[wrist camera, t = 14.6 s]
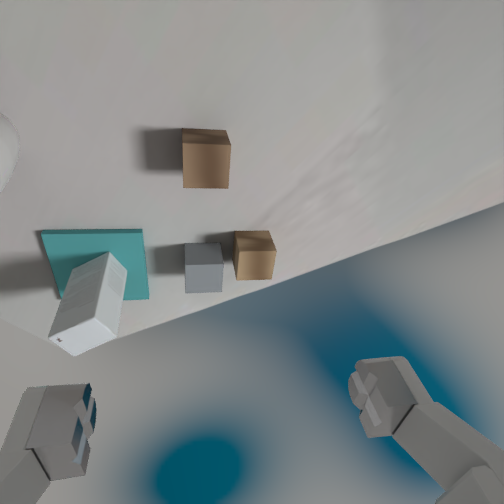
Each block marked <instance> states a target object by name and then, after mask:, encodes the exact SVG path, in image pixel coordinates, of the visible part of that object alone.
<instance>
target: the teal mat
mask: <svg viewBox="0 0 504 504" xmlns="http://www.w3.org/2000/svg"><path fill="white" fill-rule="evenodd" d="M41 237H42V240H43V243H44V246H45V249H46V252H47V255H48V258H49V262H50V265H51V268H52V271H53V274H54V277H55V280H56V284H57V287H58V290H59V293H60V296H61V299H62V297H63V294H64V291H65V288H66V286H67V283H68V280H69V277H70V275H71V272H72V269H74V268H76V267H78V266H80V265H82V264H84V263H86V262H88V261H91V260H93V259H95V258H97V257H99V256H101V255H103V254H105V253H107V252H110V253H111V254H112V255H113V256H114V257H115V258H116V259H117V260H118V261H119V262H120V263H121V264H122V265H123V267H124V268H125V269H126V270H127V277H126V284H125V290H124V296H123V300H141V299H149V288H148V278H147V269H146V260H145V250H144V241H143V232H142V229H94V230H43V231H42V233H41Z"/></svg>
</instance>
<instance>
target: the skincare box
mask: <svg viewBox="0 0 504 504" xmlns="http://www.w3.org/2000/svg"><path fill="white" fill-rule="evenodd" d="M126 277H127V270H126V269H125V268H124V267H123V265H122V264H121V263H120V262H119V261H118V260H117V259H116V258H115V257H114V256H113V255H112V254H111V253H110V252H107V253H105V254H103V255H101V256H99V257H97V258H95V259H93V260H91V261H88V262H86V263H84V264H82V265H80V266H78V267H76V268H74V269H72V272H71V275H70V277H69V280H68V283H67V286H66V288H65V291H64V294H63V297H62V299H61V302H60V305H59V308H58V311H57V313H56V316H55V319H54V322H53V324H52V327H51V330H50V333H49V335H48V339H49V340H51V341H52V342H54V343H55V344H56V345H58V346H59V347H61V348H62V349H64V350H65V351H66V352H68V353H69V354H71V355H72V356H77V355H79V354H81V353H83V352H85V351H88V350H90V349H92V348H94V347H96V346H98V345H101V344H103V343H105V342H107V341H110V340H112V339H114V338H116V337H117V334H118V328H119V321H120V315H121V309H122V303H123V296H124V290H125V284H126Z"/></svg>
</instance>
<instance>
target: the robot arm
mask: <svg viewBox="0 0 504 504" xmlns="http://www.w3.org/2000/svg"><path fill="white" fill-rule="evenodd" d="M355 368H356V370H357V371H356V372H354V373H353V374H351V376H350V379H349V381H348V382H349V393H350V397H351V399H352V402H353V404H354V405H355V406H357V407H358V408H359V409H360V415H359V418H360V421H361V423H362V425H363V427H364V430H365V432H366V434H367V437H368V438H370V437H380V436H390V435H393V438H394V439H395V440H396V441H397V442H398V443H399V444H400V445H401V446H402V447H403V448H404V449H405V450H406V451H407V452H408V453H409V454H410V455H411V456H412V457H413V458H414V459H415V460H416V461H417V462H418V463H419V464H420V465H421V466H422V467H423V469H425V470H426V471H427V473H428V474H429V475H430V476H432V478H433V479H434V480H435V481H436V482H437V483H438V484H439V485H440V486H441V487H442V488H443V489H444V490H445V492H444V493H443V494H442V495H441V496H440V497H439V498H438V499H437V500H436V502H435V504H504V451H503V450H502V449H501V448H499V447H498V446H497V445H495V444H494V443H493V442H491V441H490V440H488V439H487V438H486V437H485V436H483V435H482V434H480V433H479V432H478V431H476V430H475V429H474V428H472V427H471V426H470V425H468V424H467V423H465V422H464V421H463V420H461V419H460V418H459V417H457V416H456V415H455V414H453V413H452V412H451V411H449V410H448V409H446V408H445V407H444V406H442V405H441V404H440V403H438V402H436V403H434V402H433V400H432V399H431V397H430V396H429V394H428V392H427V391H426V389H425V388H424V386H423V385H422V383H421V381H420V380H419V378H418V377H417V375H416V373H415V372H414V370H413V369H412V367H411V366H410V364H409V362H408V361H407V360H406V359H405V358H404V357H400V356H399V357H389V358H387V357H385V358H375V359H365V360H360V361H358V362H357V363H356V366H355ZM91 391H92V388H91V386H90V383H81V384H68V385H56V386H41V387H29V388H27V389H26V391H25V392H24V393H23V395H22V398H21V400H20V403H19V405H18V408H17V410H16V413H15V415H14V418H13V420H12V423H11V425H10V428H9V430H8V433H7V436H6V438H5V441H4V443H3V446H2V448H1V451H0V504H36V502H37V501H38V500H39V498H40V497H41V496H42V494H43V493H44V492H45V490H46V489H47V487H48V486H49V485H50V481H54V480H60V479H66V478H72V477H78V476H84V475H85V474H86V468H87V463H88V459H89V453H90V447H89V444H88V441H87V440H88V438H89V437H90V436H91V435H92V434H93V432H94V428H95V422H96V402H95V399H94V398H93V397H91Z"/></svg>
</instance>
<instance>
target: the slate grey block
mask: <svg viewBox="0 0 504 504" xmlns="http://www.w3.org/2000/svg"><path fill="white" fill-rule="evenodd" d="M223 268H224V263H223V257H222V251H221V245H220V243H185V292H186V293H206V292H222V280H223Z"/></svg>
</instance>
